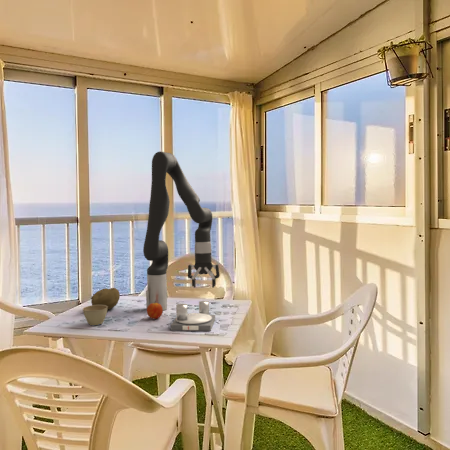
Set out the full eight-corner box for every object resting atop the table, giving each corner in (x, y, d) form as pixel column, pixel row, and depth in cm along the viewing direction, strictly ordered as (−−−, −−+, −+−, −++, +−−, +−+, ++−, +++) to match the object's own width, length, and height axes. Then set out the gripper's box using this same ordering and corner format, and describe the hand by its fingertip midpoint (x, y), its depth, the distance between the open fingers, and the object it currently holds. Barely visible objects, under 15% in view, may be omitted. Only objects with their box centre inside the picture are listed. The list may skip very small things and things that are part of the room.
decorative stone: (106, 315, 189) (105, 293, 189) (85, 313, 192) (84, 292, 192) (125, 306, 205) (124, 286, 205) (105, 305, 208) (104, 285, 208)
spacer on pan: (175, 320, 167) (175, 306, 167) (177, 317, 172) (177, 303, 172) (186, 320, 167) (186, 306, 167) (188, 317, 171) (188, 303, 171)
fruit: (149, 321, 178) (148, 303, 177) (145, 317, 184) (144, 300, 184) (164, 319, 181) (164, 301, 180) (160, 315, 187) (160, 298, 187)
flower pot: (82, 322, 177) (81, 306, 177) (106, 319, 181) (105, 303, 181) (84, 328, 168) (83, 311, 168) (109, 325, 172) (109, 308, 171)
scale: (170, 330, 164) (170, 323, 164) (178, 319, 180) (178, 312, 180) (210, 331, 162) (210, 324, 162) (215, 319, 179) (215, 313, 179)
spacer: (198, 316, 185) (198, 303, 185) (199, 313, 190) (199, 300, 189) (208, 316, 185) (208, 303, 185) (209, 313, 189) (209, 300, 189)
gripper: (186, 252, 183) (187, 289, 184) (217, 252, 182) (218, 288, 182) (189, 251, 190) (190, 285, 191) (219, 250, 189) (220, 285, 190)
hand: (204, 287), depth 187 cm, fingers open, 8 cm apart
